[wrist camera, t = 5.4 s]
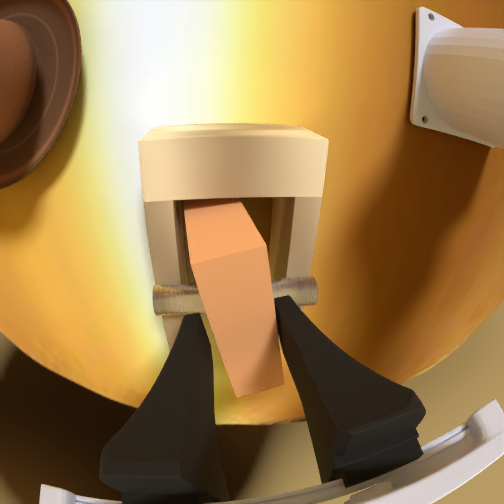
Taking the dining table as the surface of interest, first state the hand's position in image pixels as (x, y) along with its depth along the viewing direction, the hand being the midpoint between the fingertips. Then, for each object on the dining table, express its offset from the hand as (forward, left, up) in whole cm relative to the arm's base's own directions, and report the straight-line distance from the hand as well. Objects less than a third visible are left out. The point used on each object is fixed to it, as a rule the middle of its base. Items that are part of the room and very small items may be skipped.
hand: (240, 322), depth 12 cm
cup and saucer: (+13, -11, -7) cm, 18 cm away
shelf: (0, -1, -6) cm, 6 cm away
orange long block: (0, 0, -5) cm, 5 cm away
